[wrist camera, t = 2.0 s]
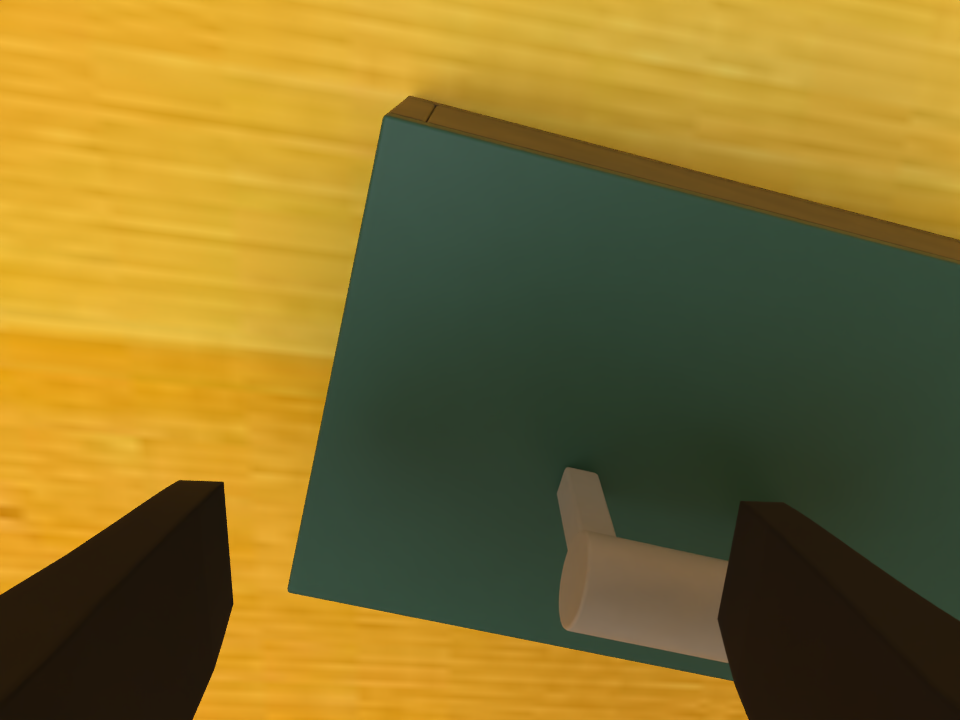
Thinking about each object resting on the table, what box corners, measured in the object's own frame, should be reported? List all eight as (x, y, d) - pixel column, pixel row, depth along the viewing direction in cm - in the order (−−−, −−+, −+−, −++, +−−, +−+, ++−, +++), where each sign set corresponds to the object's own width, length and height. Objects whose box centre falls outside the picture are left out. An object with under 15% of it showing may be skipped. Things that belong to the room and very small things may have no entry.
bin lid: (900, 698, 19) (1027, 892, 15) (292, 575, 18) (233, 749, 13) (1119, 302, 16) (1371, 401, 11) (387, 111, 14) (349, 141, 10)
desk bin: (820, 549, 24) (910, 677, 19) (334, 442, 22) (297, 552, 18) (965, 241, 21) (1118, 301, 16) (408, 95, 19) (387, 110, 14)
